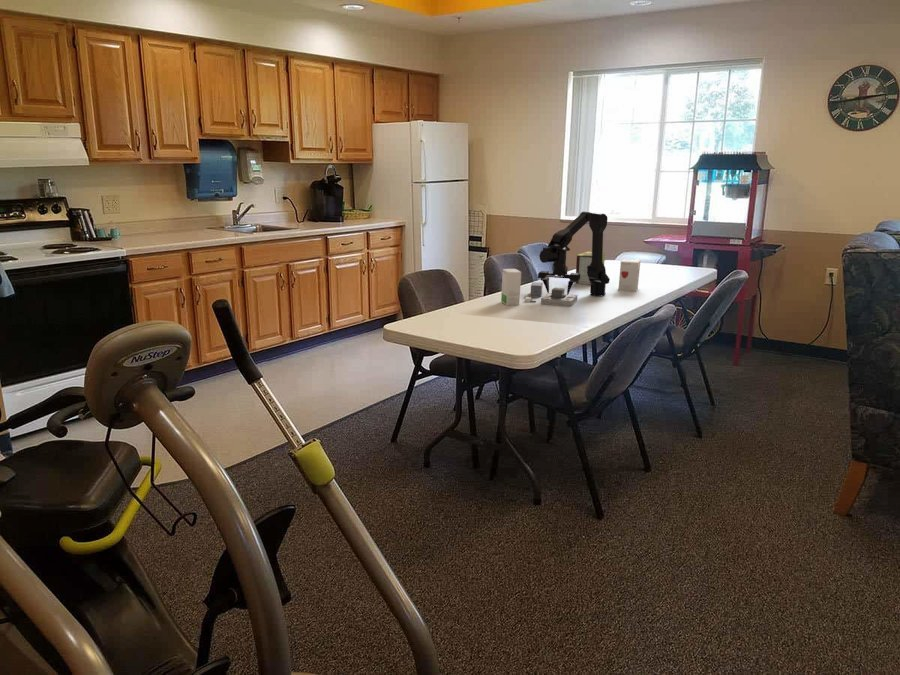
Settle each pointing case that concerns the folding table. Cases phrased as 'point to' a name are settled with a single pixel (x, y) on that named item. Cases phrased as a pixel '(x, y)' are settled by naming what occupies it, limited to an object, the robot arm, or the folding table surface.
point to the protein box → (584, 267)
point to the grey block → (558, 292)
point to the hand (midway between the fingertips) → (558, 294)
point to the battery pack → (536, 289)
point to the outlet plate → (559, 300)
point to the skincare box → (511, 287)
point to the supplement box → (629, 275)
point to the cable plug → (528, 299)
